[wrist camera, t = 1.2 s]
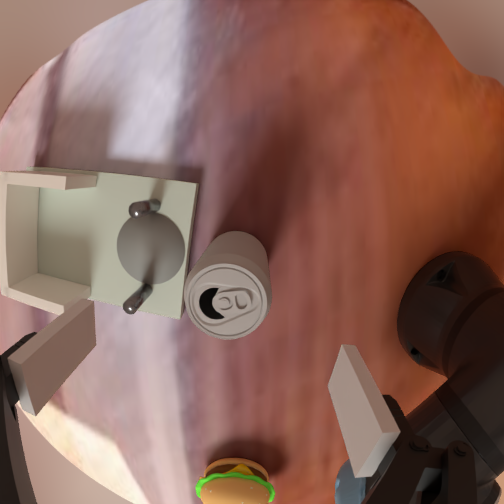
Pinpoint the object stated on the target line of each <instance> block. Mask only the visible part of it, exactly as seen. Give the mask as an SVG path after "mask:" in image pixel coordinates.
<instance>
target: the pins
mask: <svg viewBox="0 0 504 504" xmlns="http://www.w3.org/2000/svg"><path fill="white" fill-rule="evenodd" d="M160 207H161V203H160V201H159V200H158V199H155V198H153V199H148V200H143V201H138V202H134V203H132V204H131V205H130V206H129V210H128V211H129V214H130V216H131V217H132V218H140V217H143V216H146V215H149V214H152V213H155V212H157V211H159V210H160ZM152 292H153V289H152V287H151V285H149V284H146V283H145V284H143V285H141V286H140V287H139V288H138V289H137V290H136V291H135V292H134V293H133V294H132V295H131V296H130V297H129V298H128V299H127V300H126V301H125V302H124V303H123V309H124V311H125V312H126V313H128V314H134V313H135V312H136V311H137V310H138V309H139V307H140V306H141V305H142V304H143V303H144V302H145V301H146V300H147V298H148V297H149V296H150V295H151V294H152Z"/></svg>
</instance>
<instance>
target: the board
mask: <svg viewBox="0 0 504 504" xmlns="http://www.w3.org/2000/svg"><path fill="white" fill-rule="evenodd" d="M31 170H33V171H48V172H61V173H73V174H84V175H94V176H97V180H96V187H90V188H79V189H69V190H61V189H52V188H43V187H40V189H39V203H38V228H37V257H38V273H41V274H45V275H48V276H52V277H56V278H59V279H63V280H67V281H71V282H75V283H79V284H83V285H87V286H91V296H90V297H89V299H93V300H97V301H101V302H105V303H109V304H113V305H117V306H121V307H123V303H124V302H125V301H126V300H127V299H128V298H129V297H130V296H131V295H132V294H133V293H134V292H135V291H136V290H137V289H138V288H139V287H140V286H141V285H143V284H145V283H146V284H149V285H151V287H152V289H153V292H152V294H151V295H150V296H149V297H148V298H147V300H146V301H145V302H144V303H143V304H142V305H141V306H140V307H139V309H138V311H143V312H147V313H152V314H156V315H161V316H166V317H170V318H175V319H181V317H182V315H183V311H184V286H185V283H186V280H187V272H188V263H189V255H190V247H191V239H192V231H193V224H194V217H195V210H196V203H197V196H198V189H199V183H192V182H185V181H177V180H170V179H162V178H154V177H145V176H137V175H128V174H118V173H108V172H98V171H87V170H75V169H62V168H48V167H27V169H26V171H31ZM153 198H155V199H158V200H159V201H160V203H161V207H160V210H159V211H157V212H155V213H152V214H149V215H146V216H143V217H140V218H132V217H131V216H130V214H129V211H128V210H129V206H130V205H131V204H132V203H134V202H138V201H143V200H148V199H153Z"/></svg>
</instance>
